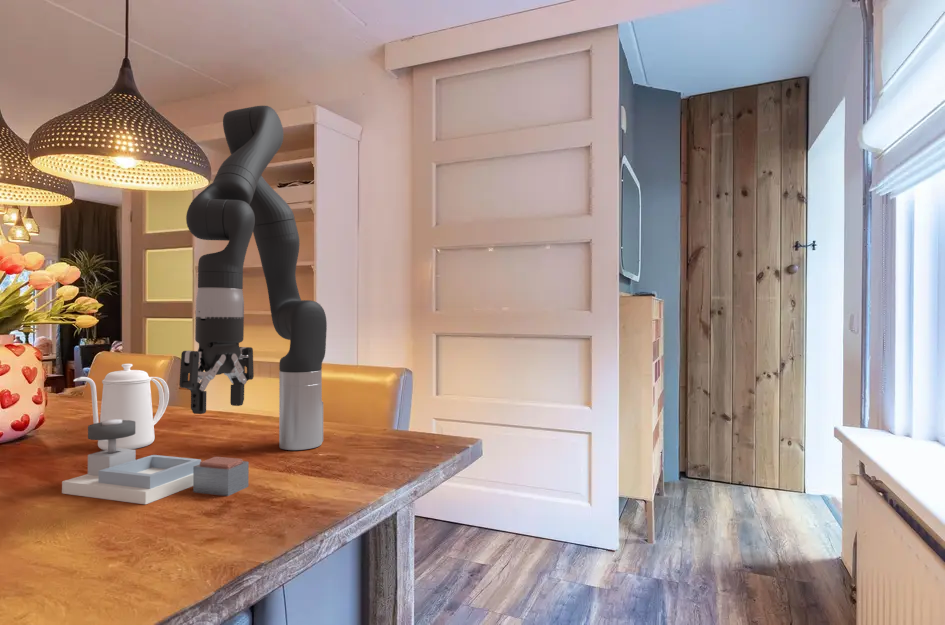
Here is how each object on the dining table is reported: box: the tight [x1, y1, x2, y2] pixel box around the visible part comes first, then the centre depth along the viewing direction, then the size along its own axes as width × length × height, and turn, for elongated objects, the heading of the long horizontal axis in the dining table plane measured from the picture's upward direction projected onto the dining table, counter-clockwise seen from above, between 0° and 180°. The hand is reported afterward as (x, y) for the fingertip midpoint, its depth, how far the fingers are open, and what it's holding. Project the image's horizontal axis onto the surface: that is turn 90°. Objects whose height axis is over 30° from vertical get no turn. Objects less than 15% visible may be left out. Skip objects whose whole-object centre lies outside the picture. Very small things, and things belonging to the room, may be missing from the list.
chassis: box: [61, 448, 202, 505], centre depth 93 cm, size 13×18×6 cm
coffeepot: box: [73, 363, 170, 451], centre depth 121 cm, size 11×25×19 cm, turn 168°
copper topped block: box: [192, 456, 249, 497], centre depth 91 cm, size 5×7×5 cm
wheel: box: [87, 419, 135, 454], centre depth 95 cm, size 7×7×6 cm
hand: (218, 409), depth 91 cm, fingers open, 8 cm apart
